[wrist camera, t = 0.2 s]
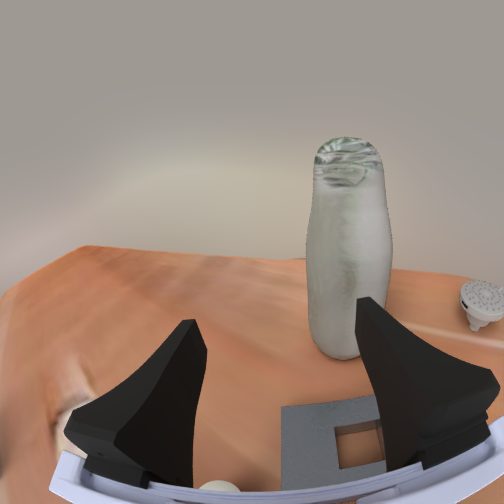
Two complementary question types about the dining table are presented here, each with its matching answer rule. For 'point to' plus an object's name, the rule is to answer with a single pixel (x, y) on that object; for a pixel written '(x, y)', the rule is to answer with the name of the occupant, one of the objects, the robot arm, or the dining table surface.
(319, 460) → the jig
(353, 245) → the grey green bottle
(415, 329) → the dining table surface
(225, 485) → the white rounded capsule
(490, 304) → the showerhead
